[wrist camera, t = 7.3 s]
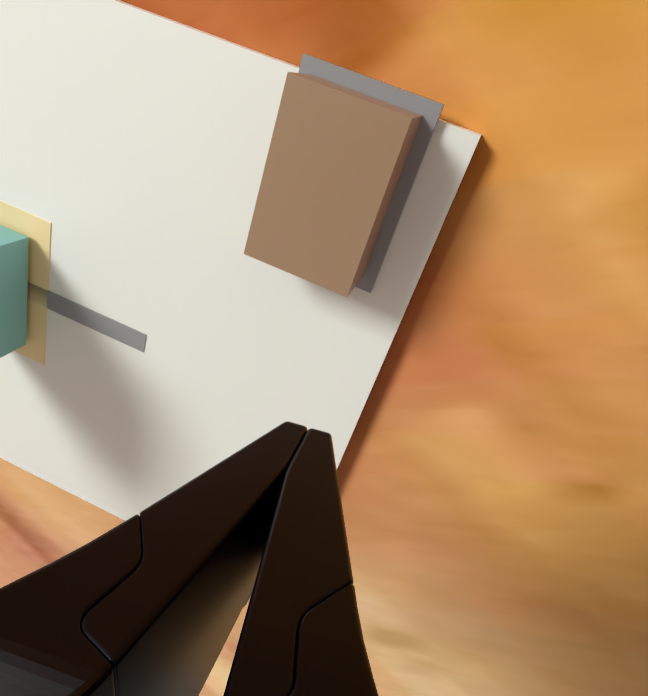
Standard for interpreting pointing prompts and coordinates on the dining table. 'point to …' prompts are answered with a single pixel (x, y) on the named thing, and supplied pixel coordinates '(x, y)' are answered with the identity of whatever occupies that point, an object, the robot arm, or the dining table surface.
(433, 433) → the dining table surface
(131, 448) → the console
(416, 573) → the dining table surface
